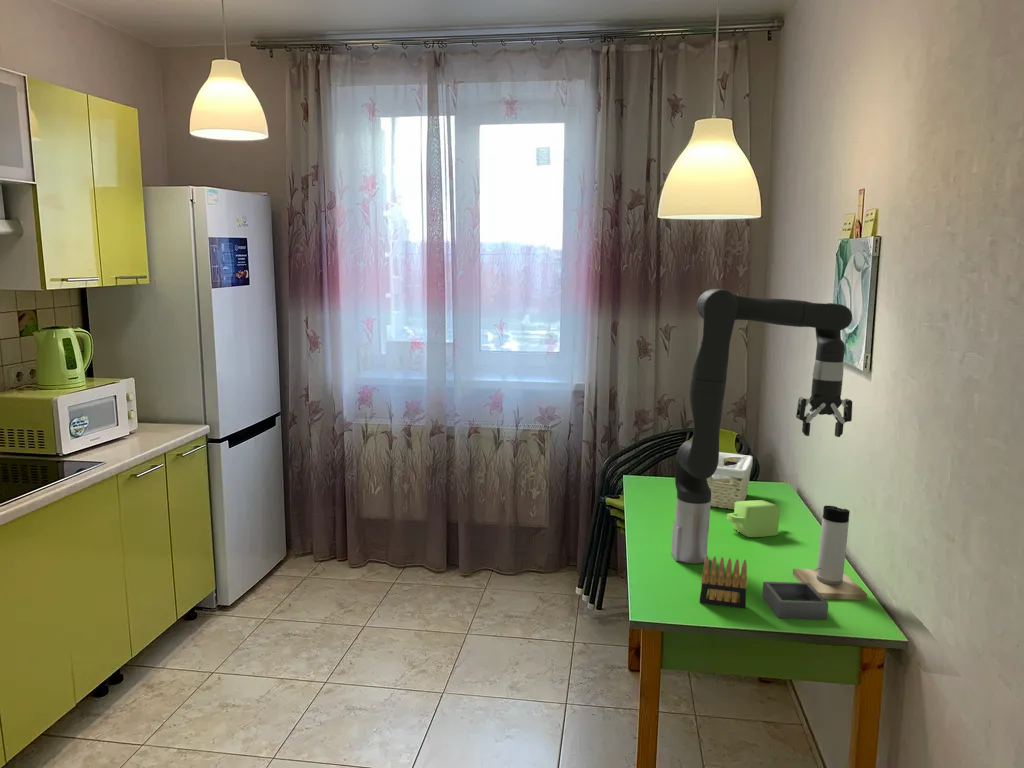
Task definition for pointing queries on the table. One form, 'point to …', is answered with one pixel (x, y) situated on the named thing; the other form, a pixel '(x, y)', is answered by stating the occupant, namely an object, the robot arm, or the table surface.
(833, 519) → the travel mug
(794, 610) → the socket collar
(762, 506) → the lime tabbed block
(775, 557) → the table surface
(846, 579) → the beige wavy board
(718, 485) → the storage basket
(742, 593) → the ammunition clip
